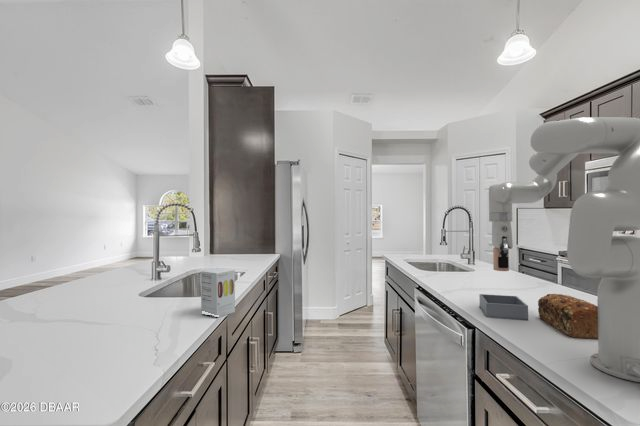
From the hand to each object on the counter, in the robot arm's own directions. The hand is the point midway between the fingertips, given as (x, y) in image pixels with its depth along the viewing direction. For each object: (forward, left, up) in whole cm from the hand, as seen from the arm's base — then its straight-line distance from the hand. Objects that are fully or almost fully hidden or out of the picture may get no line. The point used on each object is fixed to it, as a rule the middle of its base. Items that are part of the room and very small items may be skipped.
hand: (501, 266), depth 116 cm
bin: (0, 0, -18) cm, 18 cm away
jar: (0, 0, -1) cm, 1 cm away
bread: (-11, -17, -18) cm, 27 cm away
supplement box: (-27, +104, -18) cm, 109 cm away
